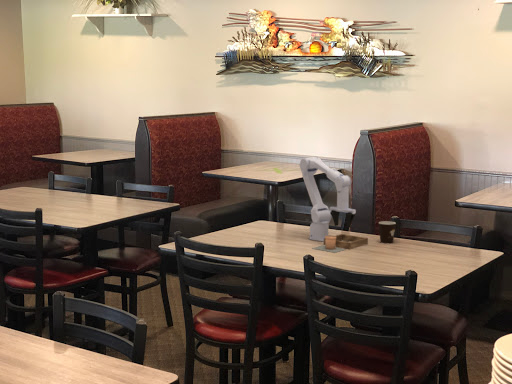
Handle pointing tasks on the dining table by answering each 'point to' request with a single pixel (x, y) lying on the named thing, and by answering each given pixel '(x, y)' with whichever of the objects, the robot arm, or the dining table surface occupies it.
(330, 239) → the terracotta pot
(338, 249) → the rubber mat
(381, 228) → the coffee mug
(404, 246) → the dining table surface
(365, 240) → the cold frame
